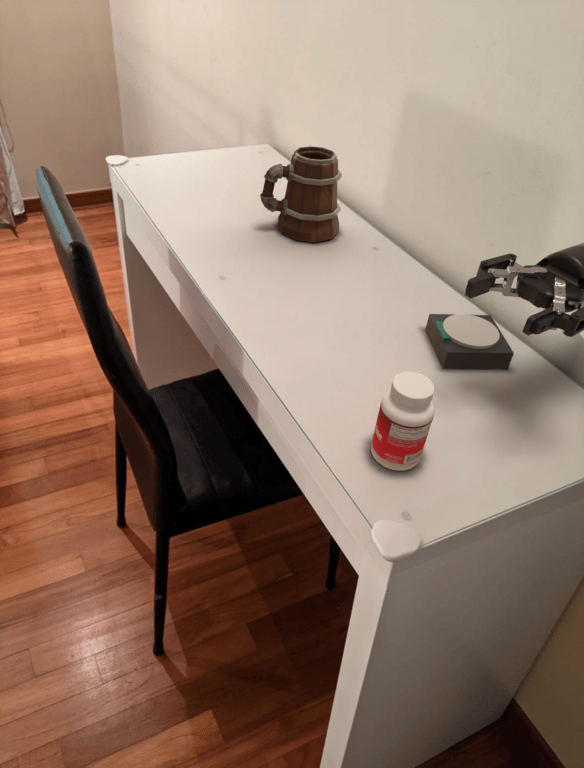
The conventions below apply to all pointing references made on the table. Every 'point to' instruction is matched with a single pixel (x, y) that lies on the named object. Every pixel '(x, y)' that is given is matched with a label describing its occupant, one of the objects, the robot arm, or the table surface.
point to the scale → (468, 342)
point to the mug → (306, 195)
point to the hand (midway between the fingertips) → (497, 307)
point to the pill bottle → (403, 421)
